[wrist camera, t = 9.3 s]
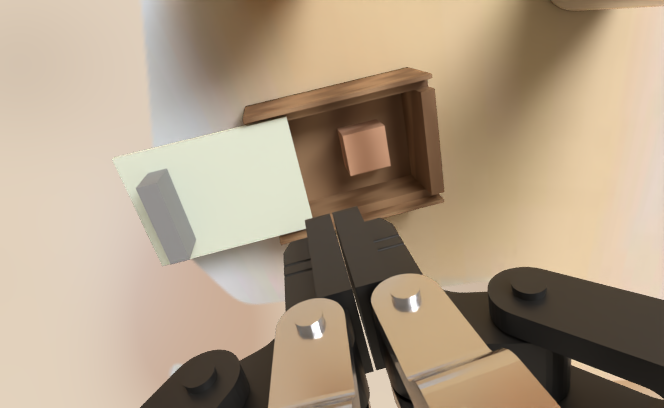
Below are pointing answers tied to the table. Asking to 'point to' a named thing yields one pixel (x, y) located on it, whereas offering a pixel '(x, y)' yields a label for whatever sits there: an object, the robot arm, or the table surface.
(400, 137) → the walnut box
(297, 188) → the cover plate
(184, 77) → the table surface
